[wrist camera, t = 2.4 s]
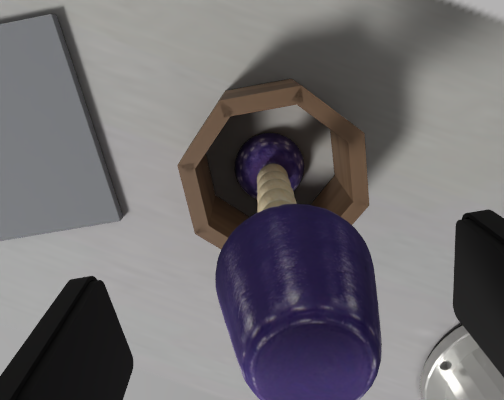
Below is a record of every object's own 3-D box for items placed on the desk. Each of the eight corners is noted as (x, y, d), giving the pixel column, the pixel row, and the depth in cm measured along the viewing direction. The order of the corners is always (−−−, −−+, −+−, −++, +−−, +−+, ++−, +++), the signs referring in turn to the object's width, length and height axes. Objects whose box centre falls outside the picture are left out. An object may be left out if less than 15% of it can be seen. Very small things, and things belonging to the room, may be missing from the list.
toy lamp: (219, 141, 23) (159, 333, 7) (291, 109, 22) (390, 246, 7) (252, 208, 25) (258, 481, 9) (319, 180, 24) (452, 422, 8)
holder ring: (351, 216, 25) (372, 250, 21) (213, 239, 25) (206, 276, 21) (338, 70, 21) (360, 74, 17) (179, 99, 22) (163, 110, 18)
